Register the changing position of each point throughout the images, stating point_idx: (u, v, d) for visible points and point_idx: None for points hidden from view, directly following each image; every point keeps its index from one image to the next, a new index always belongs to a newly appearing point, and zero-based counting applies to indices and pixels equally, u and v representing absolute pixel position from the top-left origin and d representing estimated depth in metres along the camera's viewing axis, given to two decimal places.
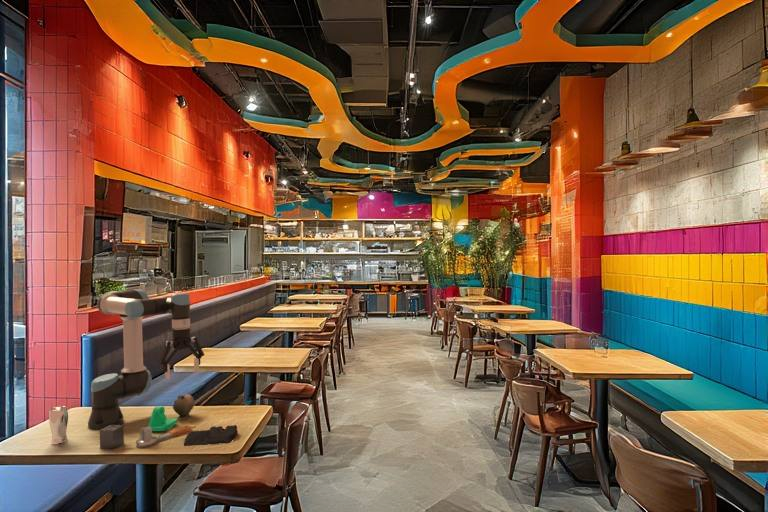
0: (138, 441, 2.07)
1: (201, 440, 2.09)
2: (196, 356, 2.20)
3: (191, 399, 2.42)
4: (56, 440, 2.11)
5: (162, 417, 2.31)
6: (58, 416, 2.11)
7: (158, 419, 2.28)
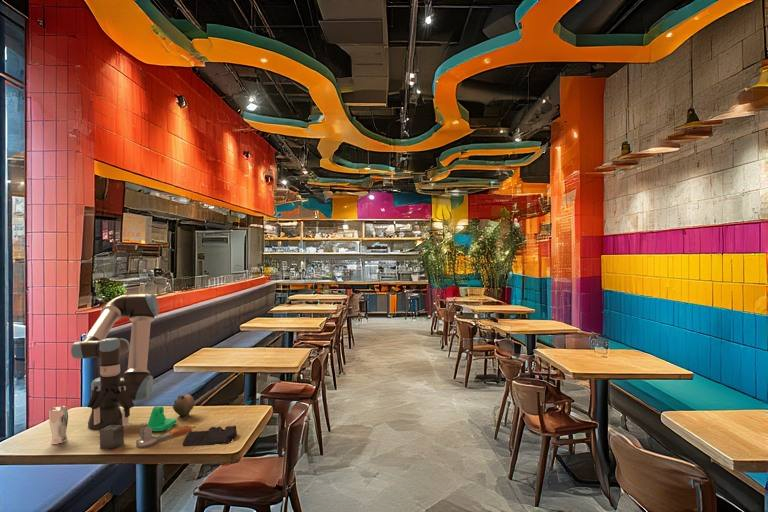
0: (138, 441, 2.07)
1: (200, 440, 2.08)
2: None
3: (191, 399, 2.42)
4: (56, 440, 2.11)
5: (161, 417, 2.31)
6: (58, 416, 2.11)
7: (157, 419, 2.28)
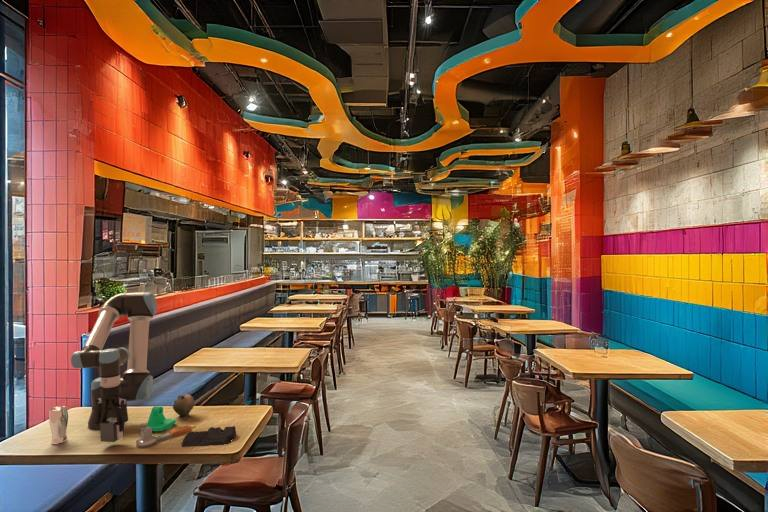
0: (138, 441, 2.07)
1: (199, 441, 2.08)
2: None
3: (191, 399, 2.42)
4: (56, 440, 2.11)
5: (161, 417, 2.31)
6: (58, 416, 2.11)
7: (157, 419, 2.28)
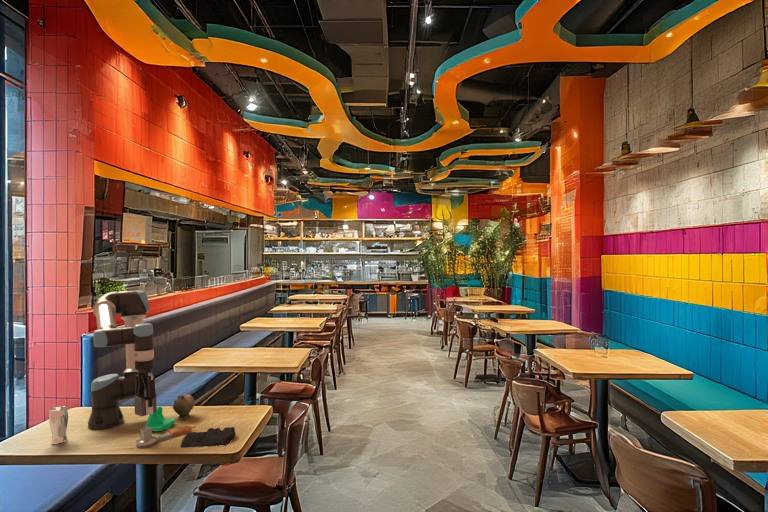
0: (138, 441, 2.07)
1: (198, 442, 2.07)
2: None
3: (191, 399, 2.42)
4: (56, 440, 2.11)
5: (160, 417, 2.31)
6: (58, 416, 2.11)
7: (156, 419, 2.29)
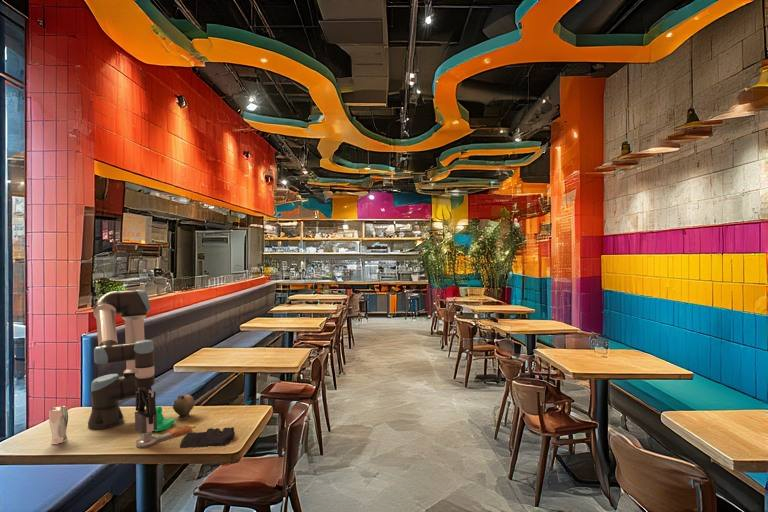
0: (138, 441, 2.07)
1: (197, 442, 2.06)
2: None
3: (191, 399, 2.42)
4: (56, 440, 2.11)
5: (160, 417, 2.31)
6: (58, 416, 2.11)
7: None
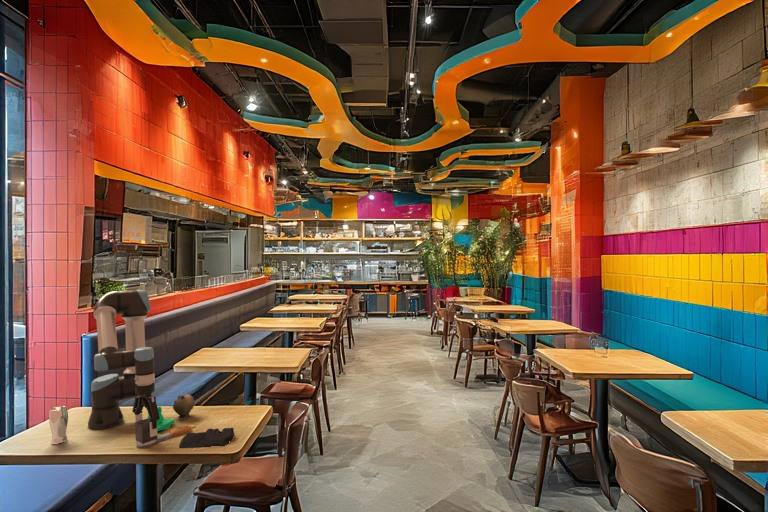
0: None
1: (196, 442, 2.06)
2: None
3: (191, 399, 2.42)
4: (56, 440, 2.11)
5: None
6: (58, 416, 2.11)
7: None
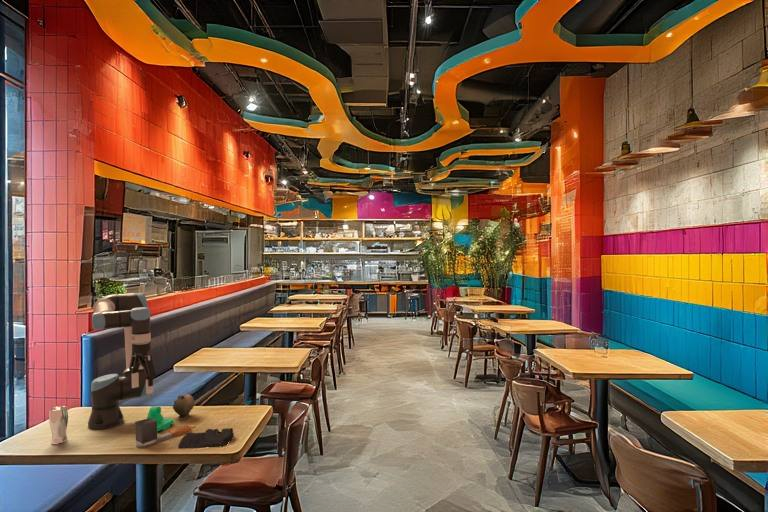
0: None
1: (196, 443, 2.06)
2: None
3: (191, 399, 2.42)
4: (56, 440, 2.11)
5: (159, 417, 2.32)
6: (58, 416, 2.11)
7: (155, 419, 2.29)
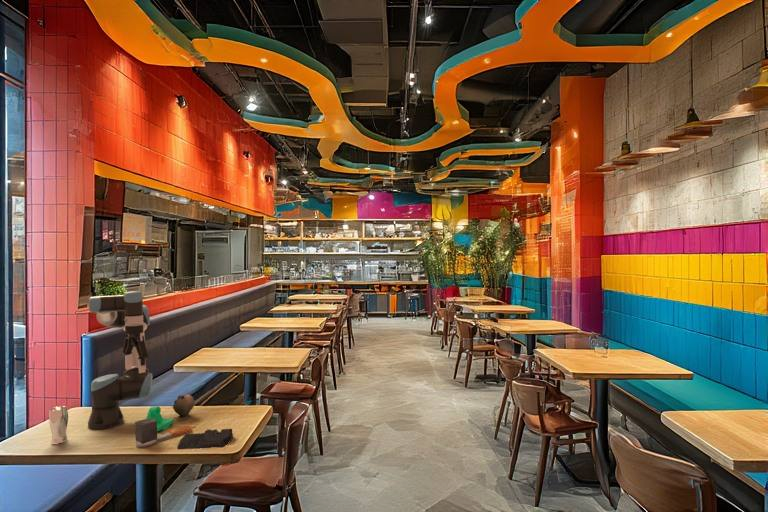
0: None
1: (195, 443, 2.05)
2: None
3: (191, 399, 2.42)
4: (56, 440, 2.11)
5: (158, 417, 2.32)
6: (58, 416, 2.11)
7: (154, 419, 2.29)
